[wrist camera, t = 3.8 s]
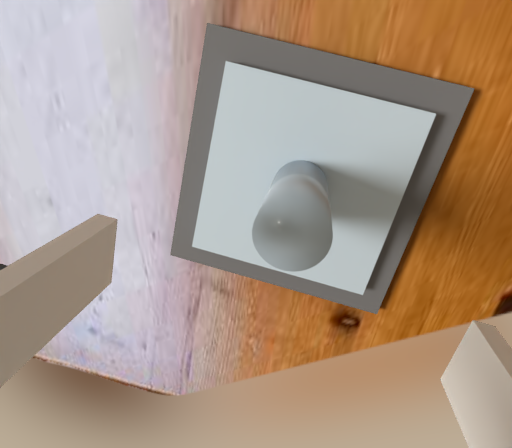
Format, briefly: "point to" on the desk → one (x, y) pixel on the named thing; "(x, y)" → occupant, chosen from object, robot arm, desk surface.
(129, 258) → the desk surface
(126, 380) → the desk surface
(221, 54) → the mat
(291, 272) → the lid
